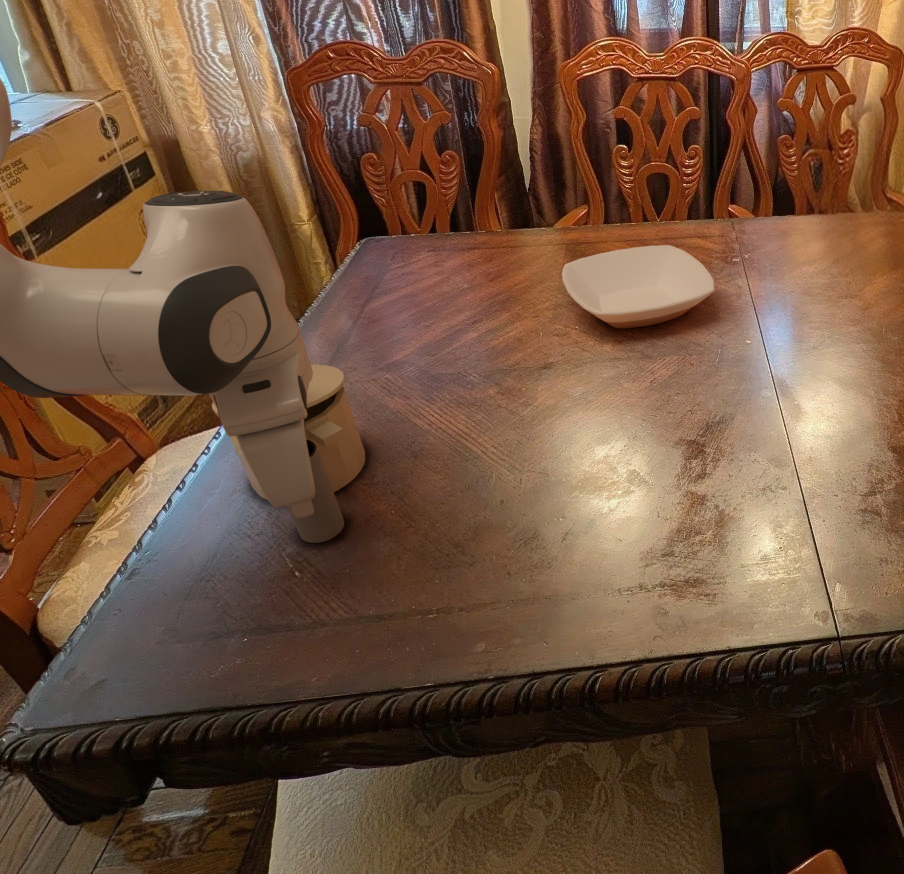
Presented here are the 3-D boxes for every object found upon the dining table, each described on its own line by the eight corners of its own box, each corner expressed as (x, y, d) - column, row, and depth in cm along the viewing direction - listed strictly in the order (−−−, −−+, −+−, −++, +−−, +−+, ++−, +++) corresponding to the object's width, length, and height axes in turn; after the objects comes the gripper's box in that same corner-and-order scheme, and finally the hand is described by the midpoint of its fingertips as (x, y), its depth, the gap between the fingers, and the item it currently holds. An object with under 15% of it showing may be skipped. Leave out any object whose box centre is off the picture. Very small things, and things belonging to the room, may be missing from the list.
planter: (353, 520, 86) (326, 444, 80) (324, 548, 83) (292, 470, 77) (321, 510, 87) (291, 434, 81) (290, 537, 84) (256, 460, 78)
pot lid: (252, 437, 79) (238, 400, 77) (193, 409, 87) (179, 374, 85) (370, 387, 88) (360, 352, 86) (307, 365, 96) (297, 333, 94)
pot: (305, 528, 85) (276, 458, 80) (220, 467, 94) (188, 400, 88) (401, 469, 93) (381, 401, 87) (314, 418, 102) (290, 353, 96)
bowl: (731, 324, 119) (731, 292, 116) (591, 354, 113) (587, 321, 110) (678, 268, 135) (677, 238, 132) (553, 292, 129) (549, 261, 126)
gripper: (216, 330, 79) (260, 444, 87) (221, 432, 64) (274, 559, 72) (284, 316, 82) (321, 428, 89) (304, 411, 66) (347, 537, 74)
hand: (300, 488), depth 81 cm, fingers open, 7 cm apart
